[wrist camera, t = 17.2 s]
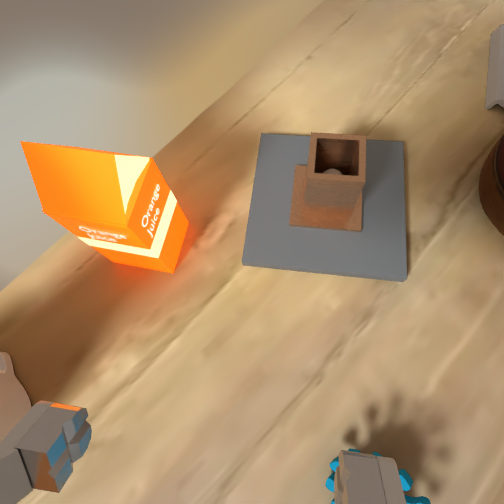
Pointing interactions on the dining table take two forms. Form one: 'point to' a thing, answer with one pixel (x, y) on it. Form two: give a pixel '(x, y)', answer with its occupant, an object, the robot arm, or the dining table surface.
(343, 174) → the copper sleeve
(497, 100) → the half-moon napkin holder
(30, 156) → the orange juice
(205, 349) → the dining table surface
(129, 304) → the dining table surface
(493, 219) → the ceramic pitcher
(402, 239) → the base plate
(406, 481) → the gear
